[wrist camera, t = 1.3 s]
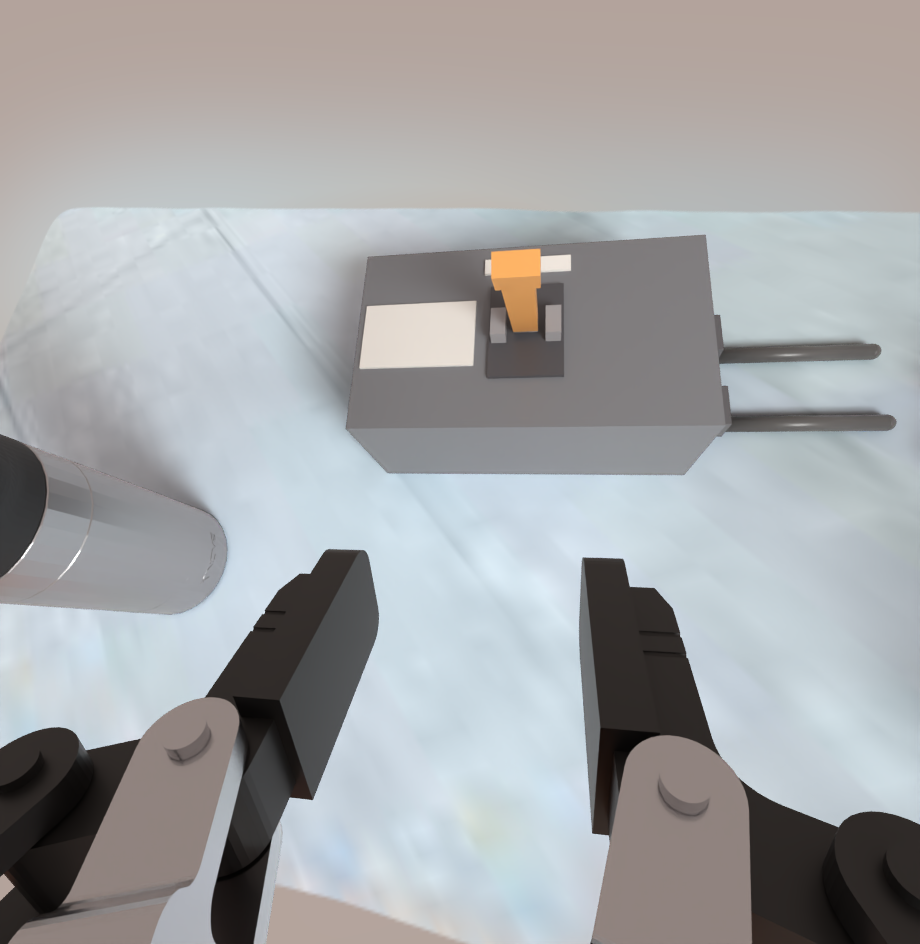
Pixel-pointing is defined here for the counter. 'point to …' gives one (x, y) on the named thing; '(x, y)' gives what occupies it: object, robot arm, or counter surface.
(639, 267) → the box
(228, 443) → the counter surface
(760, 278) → the counter surface
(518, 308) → the breaker lever
